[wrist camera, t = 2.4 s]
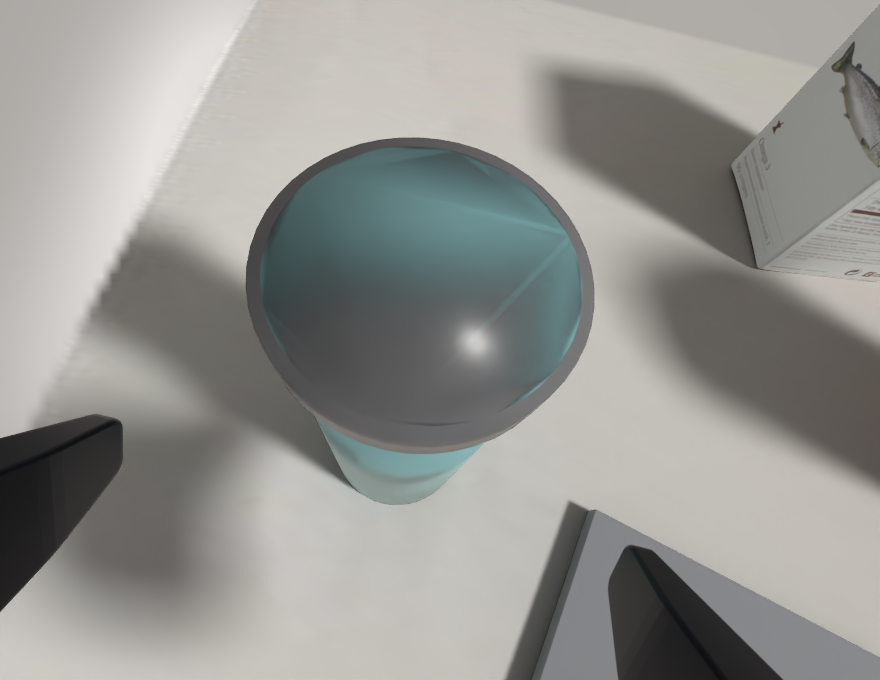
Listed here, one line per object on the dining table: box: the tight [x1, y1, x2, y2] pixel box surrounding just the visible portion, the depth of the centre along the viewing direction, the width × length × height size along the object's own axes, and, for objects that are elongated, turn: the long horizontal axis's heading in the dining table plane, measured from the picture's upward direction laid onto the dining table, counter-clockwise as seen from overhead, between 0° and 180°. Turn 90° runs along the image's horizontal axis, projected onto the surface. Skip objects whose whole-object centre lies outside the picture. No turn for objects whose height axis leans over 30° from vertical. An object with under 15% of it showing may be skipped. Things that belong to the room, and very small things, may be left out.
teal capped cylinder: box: [246, 138, 594, 505], centre depth 13 cm, size 5×5×13 cm
